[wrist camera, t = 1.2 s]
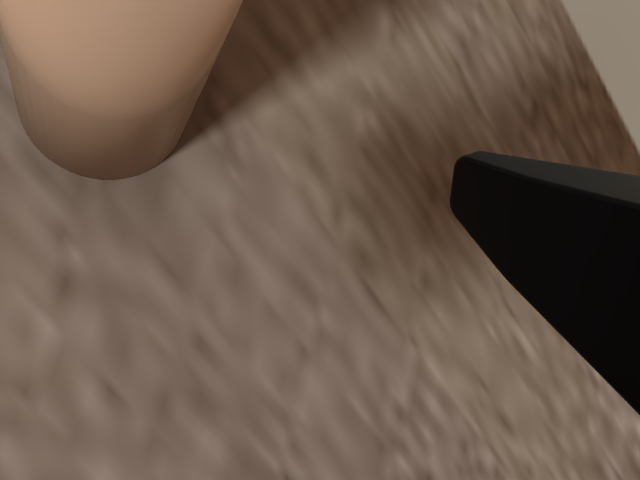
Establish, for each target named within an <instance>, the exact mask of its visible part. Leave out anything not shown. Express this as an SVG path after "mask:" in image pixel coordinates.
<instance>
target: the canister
mask: <svg viewBox="0 0 640 480" xmlns="http://www.w3.org/2000/svg"><path fill="white" fill-rule="evenodd" d="M242 2H243V0H0V38H1V42H2V46H3V50H4V55H5V59H6V63H7V67H8V71H9V75H10V79H11V84H12V88H13V92H14V96H15V100H16V104H17V108H18V113H19V116H20V119H21V122H22V125H23V127H24V129H25V131H26V133H27V135H28V136H29V138H30V139H31V141H32V142H33V144H34V145H35V146H36V147H37V148H38V149H39V150H40V151H41V152H42V153H43V154H44V155H45V156H46V157H47V158H49V159H50V160H51V161H53V162H54V163H56V164H57V165H59V166H60V167H62V168H64V169H66V170H68V171H70V172H73V173H75V174H78V175H81V176H85V177H89V178H94V179H102V180H116V179H125V178H129V177H133V176H137V175H139V174H142V173H145V172H147V171H149V170H150V169H152V168H154V167H156V166H157V165H158V164H160V163H161V162H162V161H163V160H164V159H165V158H166V157H167V156H168V155H170V153H171V152H172V151H173V149H174V148H175V147H176V145H177V143H178V141H179V139H180V137H181V135H182V133H183V131H184V129H185V126H186V124H187V122H188V120H189V118H190V116H191V113H192V111H193V109H194V107H195V105H196V102H197V100H198V98H199V96H200V94H201V92H202V89H203V87H204V85H205V83H206V81H207V78H208V76H209V74H210V72H211V70H212V67H213V65H214V63H215V61H216V59H217V57H218V54H219V52H220V50H221V48H222V46H223V43H224V41H225V39H226V37H227V35H228V33H229V30H230V28H231V26H232V24H233V22H234V19H235V17H236V15H237V13H238V11H239V9H240V6H241V4H242Z"/></svg>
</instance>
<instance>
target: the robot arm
mask: <svg viewBox="0 0 640 480" xmlns="http://www.w3.org/2000/svg"><path fill="white" fill-rule="evenodd" d="M450 207H451V210H452V212H453V214H454V216H455V217H456V218H457V220H458V221H459V222H460V223H461V224H462V226H463V227H464V228H465V229H466V231H467V232H468V233H469V234H470V236H471V237H472V238H473V239H474V241H475V242H476V243H477V244H478V245H479V247H480V248H481V249H482V250H483V252H484V253H485V254H486V255H487V257H488V258H489V259H490V260H491V262H492V263H493V264H494V265H495V267H496V268H497V269H498V270H499V271H500V272H501V274H502V275H503V276H504V277H505V278H506V279H507V280H508V282H509V283H510V284H511V285H512V286H513V287H514V288H515V289H516V290H517V291H518V292H519V293H520V294H521V295H522V296H523V297H524V298H525V299H526V300H527V301H528V302H529V303H530V304H531V305H532V306H533V307H534V308H535V309H536V310H537V311H538V312H539V313H540V314H541V315H542V316H543V317H544V318H545V319H546V320H547V321H548V322H549V323H550V324H551V325H552V327H553V328H554V329H555V330H556V331H557V332H558V333H559V334H560V335H561V336H562V337H563V338H564V339H565V340H566V341H567V342H568V343H569V344H570V345H571V346H572V347H573V348H574V349H575V350H576V351H577V352H578V353H579V354H580V355H581V356H582V357H583V358H584V359H585V360H586V361H587V362H588V363H589V364H590V365H591V366H592V367H593V368H594V369H595V370H596V371H597V372H598V373H599V374H600V375H601V376H602V377H603V378H604V379H605V380H606V381H607V382H608V383H609V384H610V385H611V386H612V387H613V388H614V389H615V390H616V391H617V392H618V393H619V394H620V395H621V396H622V398H623V399H624V400H625V401H626V402H627V403H628V404H629V405H630V406H631V407H632V408H633V409H634V410H635V411H636V412H637V413H638V414H639V415H640V176H635V175H628V174H622V173H616V172H609V171H603V170H597V169H590V168H584V167H578V166H571V165H565V164H559V163H552V162H546V161H540V160H533V159H527V158H521V157H514V156H508V155H502V154H495V153H489V152H483V151H479V152H474V153H471V154H468V155H465V156H462V157H460V158H459V159H458V160H457V161H456V163H455V165H454V171H453V179H452V186H451V194H450Z"/></svg>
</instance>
